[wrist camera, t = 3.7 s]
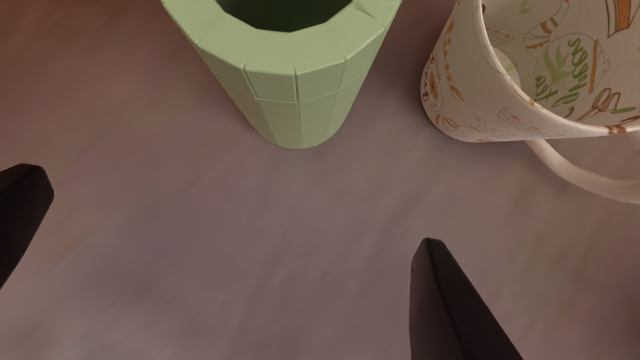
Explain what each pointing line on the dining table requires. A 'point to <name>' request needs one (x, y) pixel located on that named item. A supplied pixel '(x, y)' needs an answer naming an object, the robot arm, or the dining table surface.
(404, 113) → the dining table surface
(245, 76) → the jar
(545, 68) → the mug
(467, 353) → the robot arm
